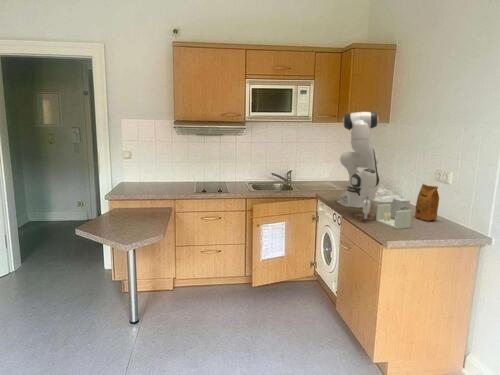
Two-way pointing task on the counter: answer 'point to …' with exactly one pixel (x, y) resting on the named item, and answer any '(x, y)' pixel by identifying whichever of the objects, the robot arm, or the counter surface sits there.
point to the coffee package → (427, 203)
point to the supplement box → (399, 206)
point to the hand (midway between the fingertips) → (366, 217)
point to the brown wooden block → (361, 217)
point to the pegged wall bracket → (400, 220)
